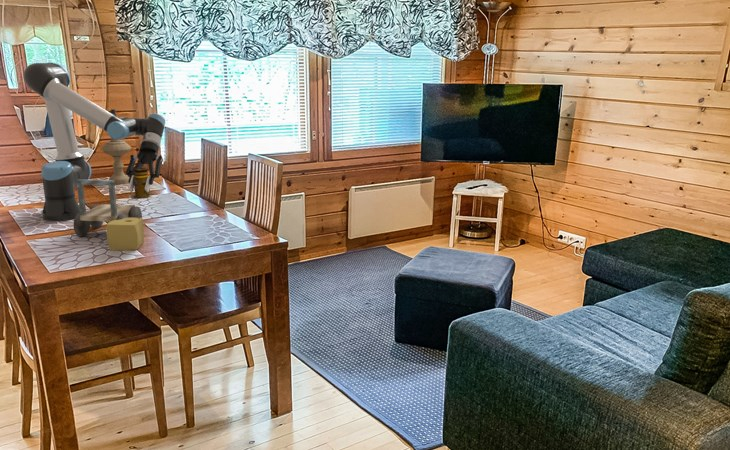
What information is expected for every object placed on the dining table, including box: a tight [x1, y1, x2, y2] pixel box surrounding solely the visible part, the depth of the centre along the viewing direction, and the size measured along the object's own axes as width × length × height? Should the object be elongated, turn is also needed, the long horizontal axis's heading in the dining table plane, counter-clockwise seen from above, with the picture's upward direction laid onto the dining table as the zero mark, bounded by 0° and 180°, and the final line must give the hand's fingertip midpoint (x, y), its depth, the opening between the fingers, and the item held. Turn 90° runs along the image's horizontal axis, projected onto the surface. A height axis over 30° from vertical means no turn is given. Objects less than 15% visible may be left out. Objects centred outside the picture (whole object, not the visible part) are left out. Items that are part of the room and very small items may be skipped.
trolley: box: [73, 179, 143, 237], centre depth 228 cm, size 18×21×23 cm
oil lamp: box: [101, 109, 132, 185], centre depth 314 cm, size 15×15×40 cm
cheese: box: [105, 217, 145, 251], centre depth 213 cm, size 10×11×10 cm
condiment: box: [128, 167, 154, 201], centre depth 240 cm, size 7×8×12 cm
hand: (138, 190), depth 238 cm, fingers closed on condiment, 6 cm apart
